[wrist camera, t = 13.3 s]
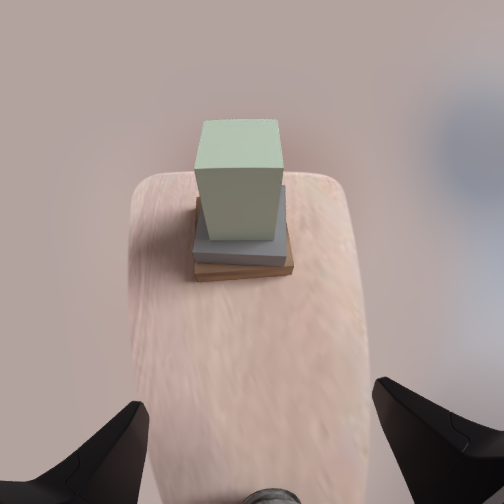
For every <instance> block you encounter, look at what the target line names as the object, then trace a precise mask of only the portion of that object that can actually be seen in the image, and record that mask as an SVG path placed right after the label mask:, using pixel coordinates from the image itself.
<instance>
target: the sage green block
mask: <svg viewBox="0 0 504 504" xmlns="http://www.w3.org/2000/svg"><path fill="white" fill-rule="evenodd" d="M283 169H284V167H283V158H282V150H281V142H280V135H279V127H278V121H277V120H265V119H263V120H262V119H246V120H245V119H238V120H237V119H236V120H208V121H204V125H203V129H202V134H201V138H200V143H199V147H198V152H197V157H196V161H195V166H194V171H195V176H196V181H197V185H198V190H199V194H200V199H201V204H202V208H203V212H204V217H205V221H206V225H207V230H208V234H209V238H210V241H240V240H274V237H275V230H276V223H277V216H278V208H279V201H280V193H281V185H282V178H283Z"/></svg>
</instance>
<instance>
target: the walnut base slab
mask: <svg viewBox="0 0 504 504" xmlns="http://www.w3.org/2000/svg"><path fill="white" fill-rule="evenodd" d="M200 207H201V199H200V197H197V199H196V222H195V233H196V228H197V222H198V217H199V212H200ZM286 243H287V257H286V261H285V266H284V267H276V266H252V265H230V264H210V263H196V261H195V259H194V274H195V276H196V278H197V280H198V282H204V281H219V280H232V279H245V278H258V277H270V276H281V275H292V271H293V268H294V262H293V257H292V251H291V245H290V240H289V234H288V229H287V223H286Z"/></svg>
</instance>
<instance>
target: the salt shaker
mask: <svg viewBox="0 0 504 504" xmlns="http://www.w3.org/2000/svg"><path fill="white" fill-rule="evenodd" d="M243 504H301V502H300V500H299V498H298V497H297V496H296V495H295V494H293V493H291V492H289V491H287V490H283V489H276V488H271V489H264V490H261V491H257V492H255V493H254V494H252V495H250V496H249V497H248V498H247V499H246V500H245V501H244V503H243Z"/></svg>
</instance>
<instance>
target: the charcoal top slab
mask: <svg viewBox="0 0 504 504" xmlns="http://www.w3.org/2000/svg"><path fill="white" fill-rule="evenodd" d="M192 253H193V256H194V259H195V261H196V263H210V264H230V265H252V266H276V267H284V266H285V261H286V257H287V243H286V196H285V185H281V193H280V201H279V208H278V216H277V223H276V230H275V237H274V240H240V241H210V238H209V234H208V230H207V225H206V221H205V217H204V212H203V208H202V204H201V207H200V212H199V217H198V222H197V228H196V233H195V238H194V244H193V249H192Z"/></svg>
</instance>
